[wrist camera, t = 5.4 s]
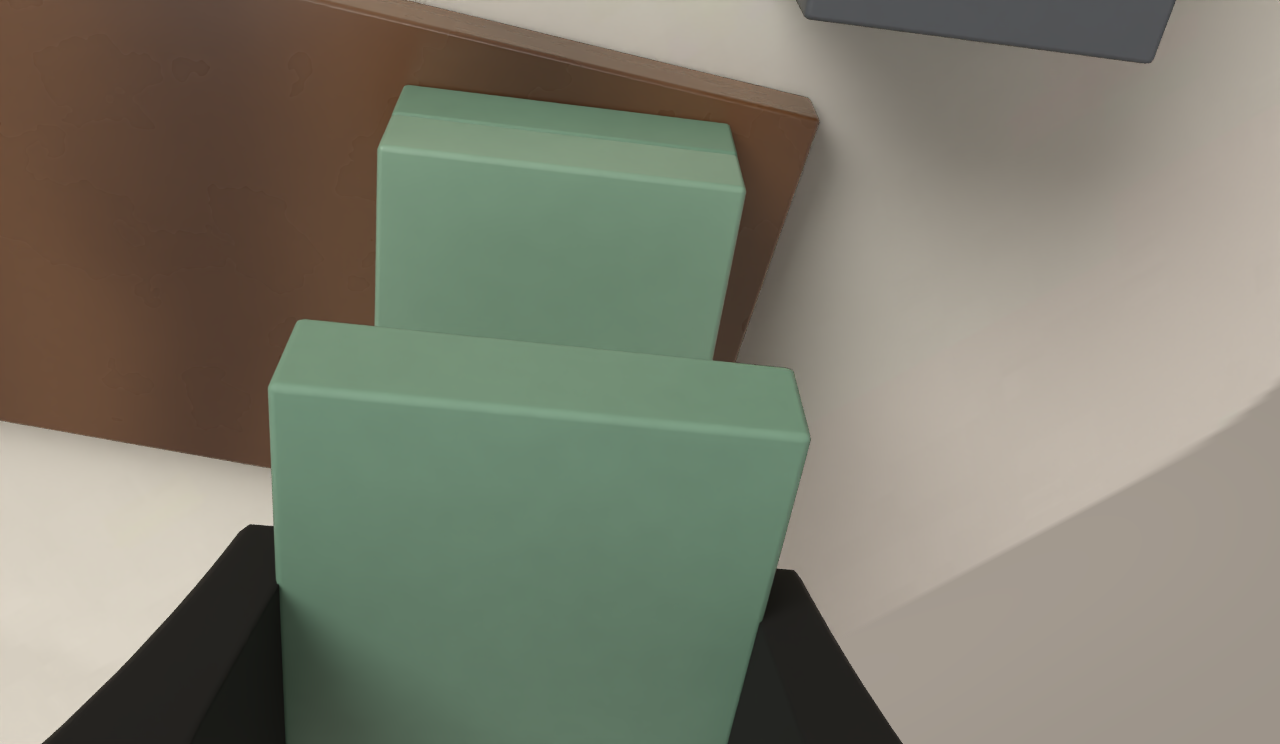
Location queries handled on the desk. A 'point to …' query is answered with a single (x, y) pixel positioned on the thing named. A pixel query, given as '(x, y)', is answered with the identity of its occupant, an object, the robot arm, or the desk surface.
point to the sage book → (521, 536)
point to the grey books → (1016, 22)
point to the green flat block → (555, 223)
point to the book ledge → (264, 190)
